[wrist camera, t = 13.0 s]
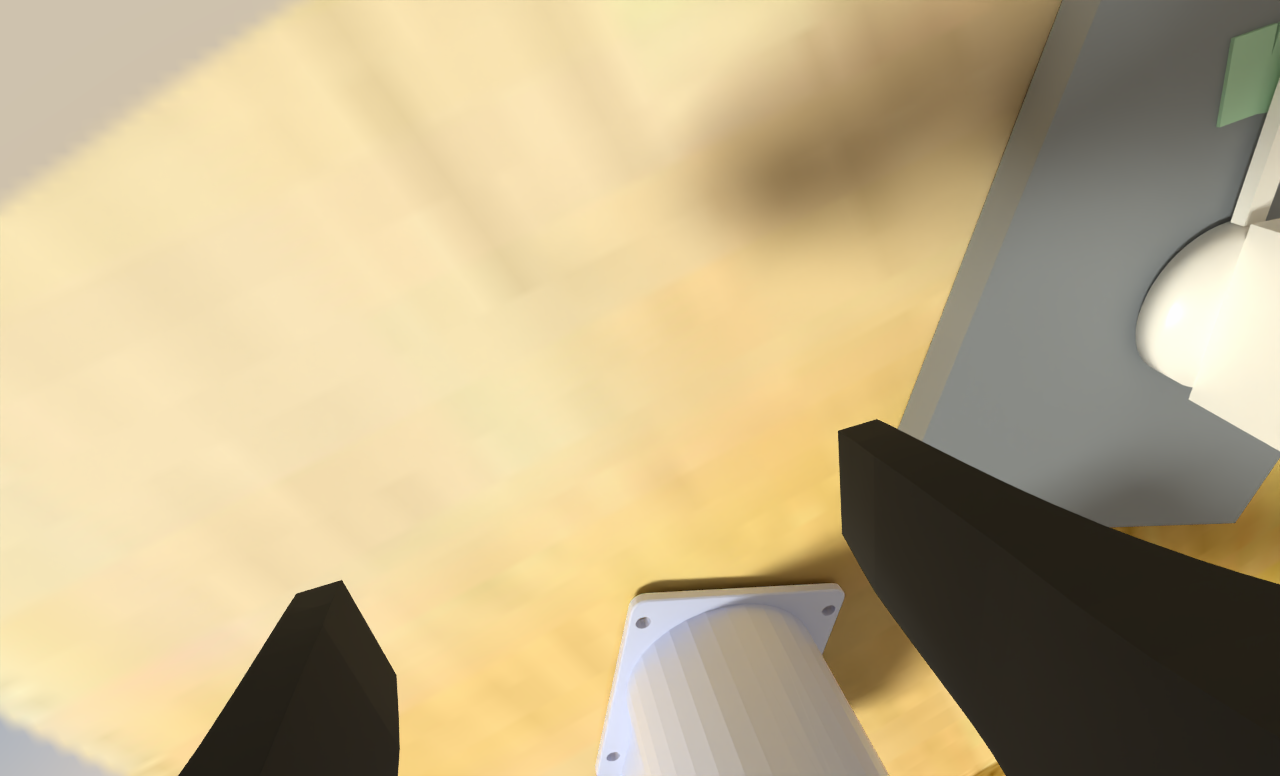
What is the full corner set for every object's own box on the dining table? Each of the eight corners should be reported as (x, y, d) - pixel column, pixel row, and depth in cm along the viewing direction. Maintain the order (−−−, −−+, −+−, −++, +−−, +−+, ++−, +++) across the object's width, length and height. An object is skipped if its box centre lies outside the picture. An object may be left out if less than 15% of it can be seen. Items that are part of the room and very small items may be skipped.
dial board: (1207, 504, 29) (1237, 524, 28) (866, 511, 25) (885, 536, 24) (1528, 13, 21) (1587, 15, 20) (1104, -109, 17) (1151, -115, 16)
